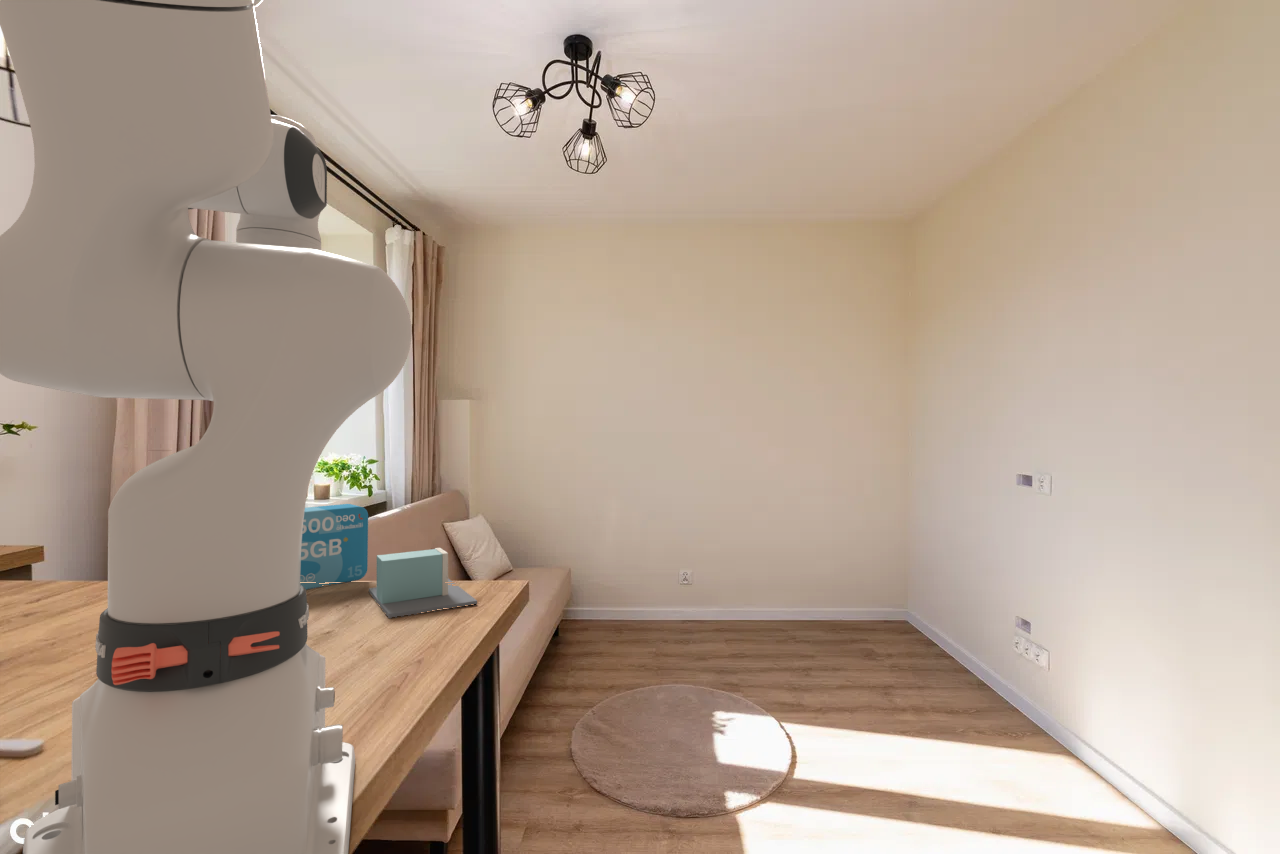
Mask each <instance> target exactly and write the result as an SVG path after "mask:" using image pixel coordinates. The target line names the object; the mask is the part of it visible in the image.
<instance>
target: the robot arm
mask: <svg viewBox="0 0 1280 854" xmlns="http://www.w3.org/2000/svg"><path fill="white" fill-rule="evenodd" d="M263 1H264V0H0V29H1V32H2V35H3V37H4V41H5V44H6V48H7V51H8V53H9V55H10V60H11V63H12V66H13V70H14V73H15V75H16V79H17V83H18V85H19V88H20V93H21V96H22V99H23V103H24V106H25V107H24V108H25V111H26V114H27V118H28V120H29V125H30V131H31V136H32V141H33V155H34V158H33V159H34V170H33V179H32V185H31V189H30V194H29V197H28V199H27V201H26V204H25V206H24V208H23V210H22V212H21V213H20V215H19V217H18V218H17V219H16V220H15V222H14V223H13V224H12V225H11V226H10V227H9V228H8V229H7V230H6V231H5V232H3V233H2V234H1V235H0V375H2V376H3V377H5V378H7V379H9V380H11V381H14V382H18V383H22V384H27V385H32V386H35V387H36V386H37V387H41V388H46V389H51V390H56V391H61V392H67V393H72V394H78V395H84V396H89V397H95V398H107V399H108V398H109V399H111V398H112V399H143V400H144V399H145V400H147V399H149V400H185V401H187V400H188V401H211V402H213V408H212V409H213V410H212V415H211V418H210V422H209V424H208V427H207V429H206V430H205V432H204V434H203V435H202V437H201V438H200V439H199V441H197V443H196V444H194V445H191V446H189V447H187V448H184V449H181V450H178V451H176V452H174V453H172V454H169V455H167V456H165V457H163V458H160V459H158V460H156V461H154V462H151V463H150V464H148V465H146V466H144V467H143V468H141V469H139V470H138V471H136V472H134V473H133V474H132V475H131V476H129V477H128V478H127V479H126V480H125V481H124V482H123V483H122V485H120V487H119V488H118V490H117V491H116V493H115V495H114V496H113V498H112V500H111V502H110V504H109V506H108V507H109V508H108V509H107V510H108V511H107V513H108V514H107V524H108V525H107V547H108V548H107V607H106V609H104V610H103V611H102V612H101V613H100V615H99V622H98V623H99V624H98V630H97V633H96V635H95V652H96V669H95V670H96V671H95V672H96V673H95V674H96V677H97V679H96V681H95V682H93V684H92V685H91V686H89V687H88V688H87V689H86V690H84V691H83V692H82V693H81V694H80V696H78V697H77V698H75V699H74V700H73V701H72V702H71V781H68V782H63V783H60V784H58V789H57V790H54V805H55V806H58V809H55V810H54V811H52V812H50V813H48V814H45V815H44V816H45V817H44V816H42V817H41V818H38V819H37V820H35V821H34V822H33V824H34V825H31V824H30V825H31V827H30V828H28V827H27V828H26V830H25V834H24V839H23V845H24V846H23V847H22V854H349V848H350V836H351V821H352V809H353V808H352V806H353V797H354V796H353V795H354V785H355V784H354V783H355V782H354V781H355V768H356V753H355V747H354V745H353V744H351V743H349V742H344V741H343V735H344V734H343V730H344V729H343V726H344V725H343V724H339V723H337V724H332V725H327V726H326V709H327V708H332V707H335V706H334V705H335V699H336V698H335V692H336V691H335V687H334V686H331V687H330V686H329V687H326V656H325V655H322V654H320V652H318V651H316V650H314V649H313V648H312V647H310V646H309V645H308V644H307V643H308V642H307V641H308V637H309V636H308V621H309V618H310V613H309V612H310V611H309V609H310V608H309V603H307V602H308V601H307V598H308V597H307V590H306V589H305V588H304V587H303V586H302V585H300V571H301V546H302V532H303V520H304V511H305V508H306V501H307V496H308V489H309V487H310V482H311V479H312V475H313V473H314V470H315V468H316V465H317V463H318V461H319V459H320V457H321V454H322V453H323V451H324V449H325V447H326V446H327V444H328V443H329V441H330V440H331V439H332V438H333V436H334V434H335V433H336V432H337V430H338V429H339V428H340V427H341V426H342V425H343V424H344V423H345V421H346V420H348V418H349V417H351V415H353V414H354V413H355V412H356V411H357V410H358V409H360V408H361V407H362V406H363V405H365V404H367V403H368V402H369V401H370V400H372V399H374V398H375V397H377V396H378V395H380V394H381V393H382V392H384V391H385V390H386V389H387V388H388V387H389V386H391V384H392V383H393V382H394V381H395V380H396V379H397V377H398V376H399V374H400V373H401V372H402V369H403V368H404V366H405V364H406V362H407V359H408V356H409V353H410V348H411V344H412V333H413V332H412V322H411V316H410V312H409V308H408V305H407V303H406V301H405V298H404V296H403V294H402V292H401V290H400V289H399V287H398V285H396V283H395V282H394V280H393V279H392V278H391V277H390V275H389V274H388V273H386V272H385V270H383V268H381V267H380V266H378V265H375V264H371V263H367V262H364V261H362V260H358V259H355V258H354V259H353V258H350V257H346V256H344V255H339V254H335V253H331V252H328V251H327V252H326V251H323V250H322V238H321V235H320V232H319V231H320V230H319V218H320V215H321V212H323V210H324V209H325V208H326V207H327V204H328V197H327V195H328V192H327V191H328V188H327V187H328V168H327V167H328V166H327V163H326V162H327V161H326V159H325V156H324V154H323V153H322V152H321V150H320V149H319V148H318V147H317V142H316V140H315V137H314V135H313V133H312V132H311V131H309V130H308V128H306V127H305V126H303V125H302V124H301V123H300V122H296V121H294V120H293V119H290V118H288V117H285V116H282V115H277V114H271V113H272V112H271V107H270V106H271V105H270V101H269V96H268V88H267V80H266V75H265V68H264V63H263V56H262V55H263V54H262V47H261V44H260V43H261V42H260V37H259V30H258V29H259V28H258V23H257V19H256V11H255V8H256V7H258V6H259V5H260V4H262V3H263ZM194 209H195V210H196V209H197V210H203V211H214V212H221V213H222V212H223V213H229V214H231V213H232V214H239V220H238V223H237V225H236V230H235V231H236V233H235V235H236V236H235V237H236V238H235V240H236V241H221V240H211V239H210V238H205V237H200V236H198V235H197V234H196V233H195V231H194V230H193V227H192V224H191V221H190V213H189V210H194Z"/></svg>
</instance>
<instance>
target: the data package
mask: <svg viewBox="0 0 1280 854" xmlns="http://www.w3.org/2000/svg"><path fill="white" fill-rule="evenodd" d="M368 546H369V513H368V510H367V509H366V508H365V507H363V506H359V505H356V504H351V503H344V504H343V503H342V504H341V503H340V504H332V505H331V504H329V505H319V506H310V507H305V511H304V520H303V532H302V546H301V571H300V582H316V583H300V585H302V586H303V587H304V588H305V589H306V591H307V590H312V589H316V588H323V587H325V586H322V585H329V586H332V585H331V584H335V585H339V584H341V583H329V584H319V583H325V582H345V583H350V582H354V581H355V582H356V581H360V580H361V579H363V578H364V577H365V576H366V574H367V573H368V568H369V567H368V561H369V560H368V559H369V558H368V557H369V555H368V553H369V549H368V548H369V547H368Z"/></svg>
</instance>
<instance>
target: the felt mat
mask: <svg viewBox="0 0 1280 854" xmlns="http://www.w3.org/2000/svg"><path fill="white" fill-rule="evenodd" d="M448 582H453V581H452V580H451V579H450V578H449V577H448ZM448 584H451V585H448V595H444V596H442V595H438V596H432V597H425V598H418V599H412V600H405V601H399V602H392V603H385V604H382V603H381V602H380V600H379V599H378V598H377V586H375V587H369V588H368V593H369V592H370V593H369V594H371V595H372V596H371V595H370V596H371V597H372V598H373V599H375V600H376V601H375V600H374V601H375V602H376V604H377V603H378V604H379V605H380V606H379V605H378V604H377V605H378V606H379V608H380V607H381V608H382V609H383V610H382V609H381V608H380V609H381V610H382V612H383V613H384V612H385V613H386V614H385V613H384V614H385V615H386V616H388V617H387V618H388V619H393V618H392V617H395V618H398V617H397V616H401V617H405V616H404V615H408V616H412V615H411V614H414V615H418V614H417V613H421V612H427V611H432V610H437V609H443V608H452V607H457V606H465V605H471V604H477V605H478V600H477V599H476V598H474V596H472V595H471V594H469V593H468V592H467V591H465V590H464V589H463V588H461V587H460V586H459V585H458V586H452V584H456V583H455V582H454V583H448ZM427 613H428V612H427ZM421 614H422V613H421Z"/></svg>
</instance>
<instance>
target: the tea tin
mask: <svg viewBox="0 0 1280 854" xmlns="http://www.w3.org/2000/svg"><path fill="white" fill-rule="evenodd" d="M448 578H449V552H448V551H446V550H444V549H443V548H441V547H435V548H433V549H424V550H415V551H413V550H412V551H406V552H396V553H394V552H393V553H387V554H377V555H376V587H377V598H378V599H379V600H380V602H381V603H382V604H385V603H392V602H399V601H405V600H412V599H418V598H425V597H432V596H438V595H442V596H444V595H448V583H445V582H448Z"/></svg>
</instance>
